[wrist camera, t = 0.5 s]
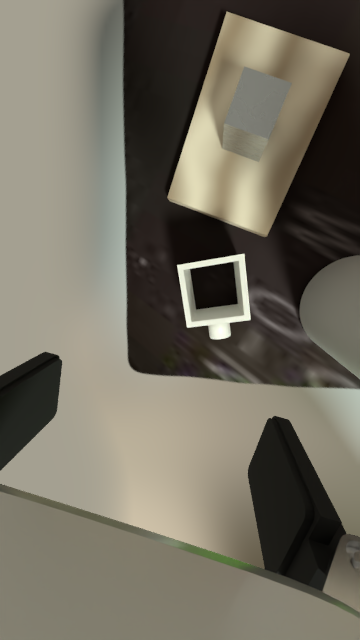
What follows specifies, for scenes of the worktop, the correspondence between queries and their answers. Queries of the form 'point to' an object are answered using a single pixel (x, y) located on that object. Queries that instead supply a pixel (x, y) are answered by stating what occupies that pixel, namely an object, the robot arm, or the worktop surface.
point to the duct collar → (221, 315)
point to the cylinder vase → (335, 311)
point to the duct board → (287, 135)
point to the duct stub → (253, 113)
